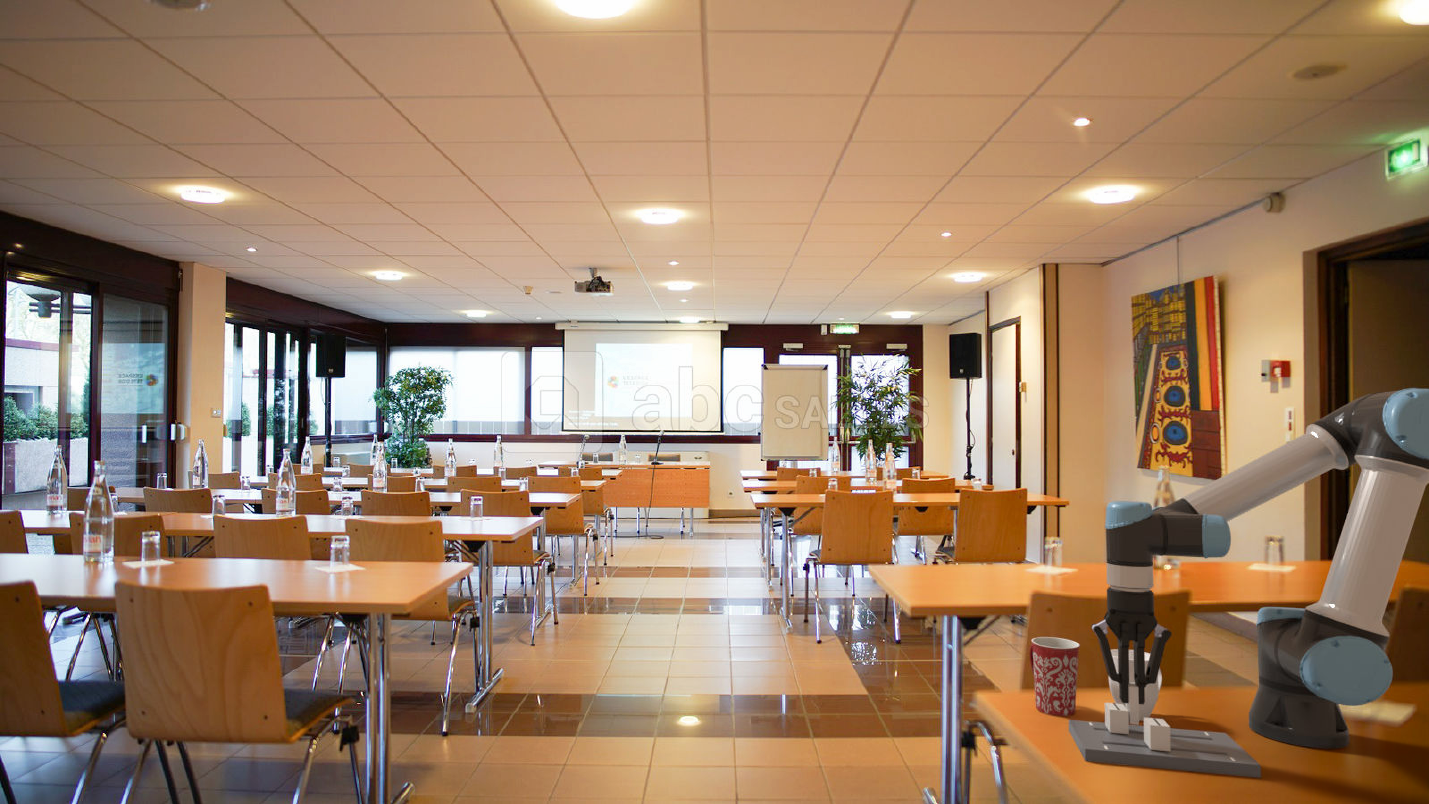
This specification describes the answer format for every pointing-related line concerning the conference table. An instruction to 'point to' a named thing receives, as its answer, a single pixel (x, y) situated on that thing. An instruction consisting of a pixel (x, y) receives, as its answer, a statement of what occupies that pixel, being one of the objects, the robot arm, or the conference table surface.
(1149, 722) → the fader
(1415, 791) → the conference table surface
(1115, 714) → the block
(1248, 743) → the conference table surface
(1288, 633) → the robot arm
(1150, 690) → the mug
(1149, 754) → the console
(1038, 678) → the mug
